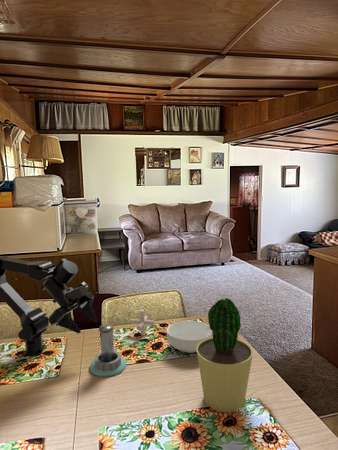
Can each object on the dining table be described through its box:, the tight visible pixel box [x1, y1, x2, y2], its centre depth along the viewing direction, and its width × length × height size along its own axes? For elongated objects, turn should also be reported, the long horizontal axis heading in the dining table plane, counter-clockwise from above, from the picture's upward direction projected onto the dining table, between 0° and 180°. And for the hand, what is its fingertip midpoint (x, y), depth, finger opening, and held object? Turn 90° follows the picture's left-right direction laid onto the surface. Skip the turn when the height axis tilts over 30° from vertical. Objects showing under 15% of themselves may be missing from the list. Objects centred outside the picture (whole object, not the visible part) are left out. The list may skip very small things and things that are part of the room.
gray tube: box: [98, 323, 115, 363], centre depth 111 cm, size 5×5×13 cm
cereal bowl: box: [166, 320, 213, 354], centre depth 123 cm, size 17×17×7 cm
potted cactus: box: [196, 297, 254, 413], centre depth 92 cm, size 15×15×30 cm
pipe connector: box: [129, 309, 156, 336], centre depth 134 cm, size 10×10×10 cm
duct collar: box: [89, 350, 127, 378], centre depth 112 cm, size 12×12×3 cm
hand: (88, 326), depth 112 cm, fingers open, 9 cm apart
